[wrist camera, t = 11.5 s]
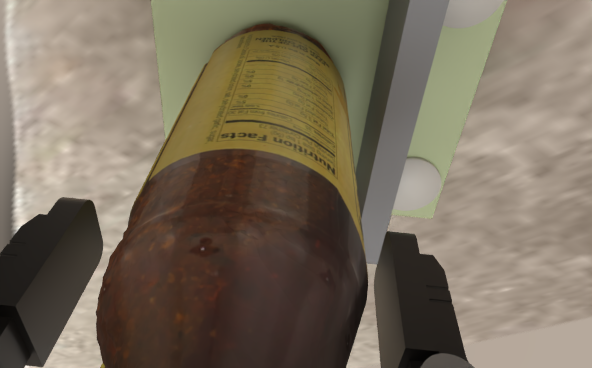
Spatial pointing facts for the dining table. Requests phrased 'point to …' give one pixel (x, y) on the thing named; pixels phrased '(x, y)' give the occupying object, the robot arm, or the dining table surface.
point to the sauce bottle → (244, 221)
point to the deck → (359, 81)
